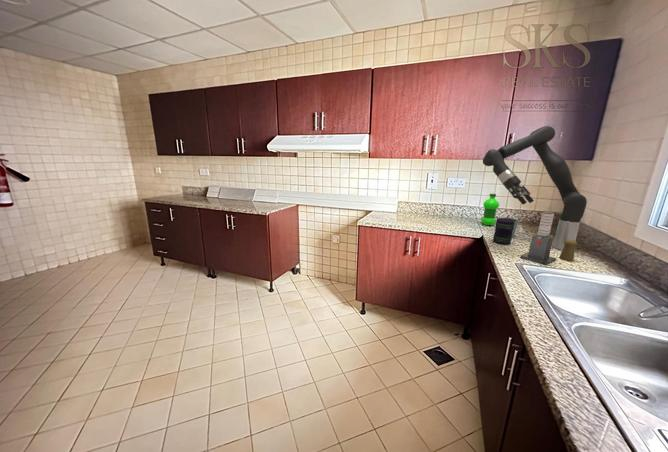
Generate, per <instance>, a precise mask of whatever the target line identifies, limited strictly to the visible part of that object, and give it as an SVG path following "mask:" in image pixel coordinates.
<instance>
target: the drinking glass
mask: <svg viewBox="0 0 668 452" xmlns="http://www.w3.org/2000/svg"><path fill="white" fill-rule="evenodd" d="M504 218H505V219H511V220H514V221H515V223H514V229H513V231H512V239H513V238H514V237H515V234H516V231H517V228H518V227H517V226H518V225H519V219H516V218H513V217H504Z"/></svg>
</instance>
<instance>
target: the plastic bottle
mask: <svg viewBox="0 0 668 452" xmlns="http://www.w3.org/2000/svg"><path fill="white" fill-rule="evenodd" d="M496 197H497V193H489V198H488V199H485V201H484V202H483V207H484V210H483V211H484V212H483V217H482V218H481V221H480V222H481V223H482V224H483V225H484V226H486V225H492V226H494V224H495V225H496V221H497V218H496V214H497V209H499V207H500V202H499V201H498V200H497V199H496Z"/></svg>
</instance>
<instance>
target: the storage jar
mask: <svg viewBox="0 0 668 452" xmlns="http://www.w3.org/2000/svg"><path fill="white" fill-rule="evenodd" d="M505 218H506V217H500V218H496V222H495V227H494V228H495V229H494V233H493V237H492V242H493V243H494V244H497V245H501V246H509V245H511V242H512V239H513V238H512V231H513V229H514V223H515V221H514V220H511V219H505Z"/></svg>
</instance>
